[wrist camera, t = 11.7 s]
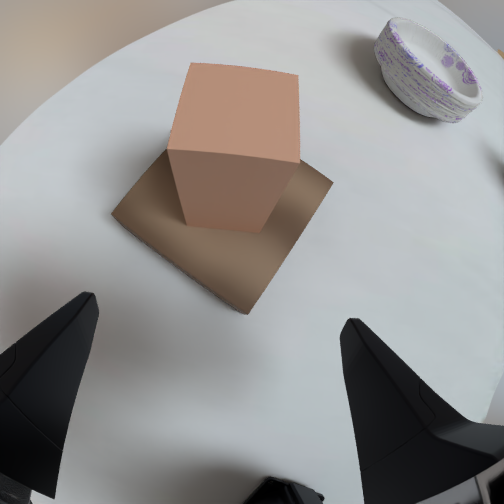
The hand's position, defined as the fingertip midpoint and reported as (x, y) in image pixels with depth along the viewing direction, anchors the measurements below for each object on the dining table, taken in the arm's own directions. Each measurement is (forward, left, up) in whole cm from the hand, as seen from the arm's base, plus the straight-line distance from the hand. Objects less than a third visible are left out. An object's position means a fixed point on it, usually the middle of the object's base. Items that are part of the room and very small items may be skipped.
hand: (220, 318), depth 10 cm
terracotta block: (+7, +4, -9) cm, 13 cm away
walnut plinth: (+7, +4, -12) cm, 15 cm away
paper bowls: (+37, -5, -13) cm, 40 cm away
